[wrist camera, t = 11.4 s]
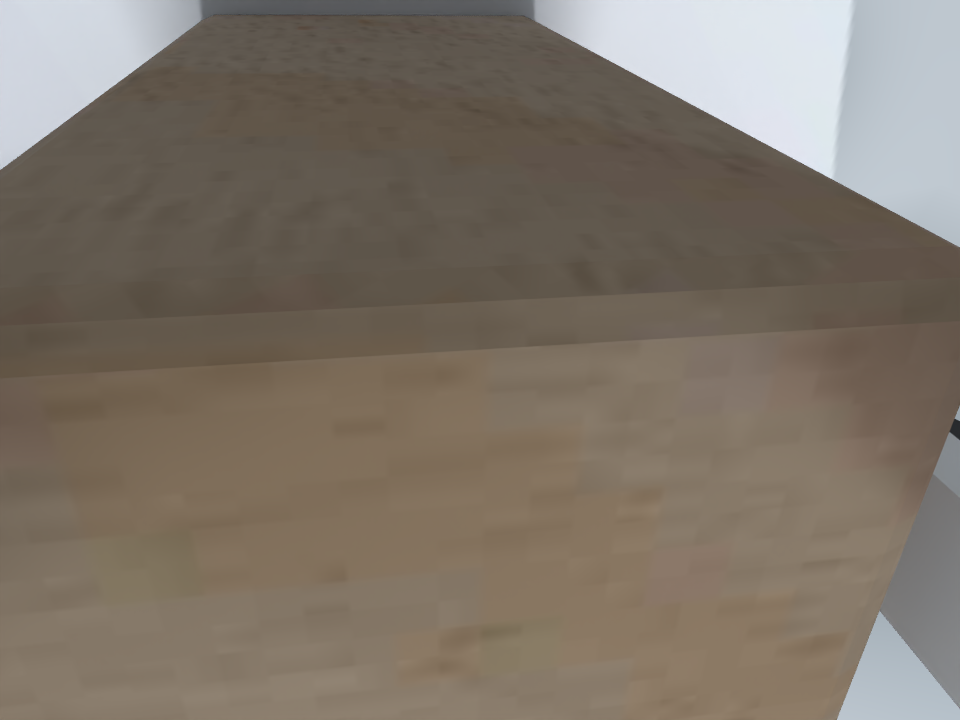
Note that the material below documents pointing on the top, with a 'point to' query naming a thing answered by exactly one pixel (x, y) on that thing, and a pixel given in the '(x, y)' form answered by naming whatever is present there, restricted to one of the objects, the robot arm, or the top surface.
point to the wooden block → (448, 391)
